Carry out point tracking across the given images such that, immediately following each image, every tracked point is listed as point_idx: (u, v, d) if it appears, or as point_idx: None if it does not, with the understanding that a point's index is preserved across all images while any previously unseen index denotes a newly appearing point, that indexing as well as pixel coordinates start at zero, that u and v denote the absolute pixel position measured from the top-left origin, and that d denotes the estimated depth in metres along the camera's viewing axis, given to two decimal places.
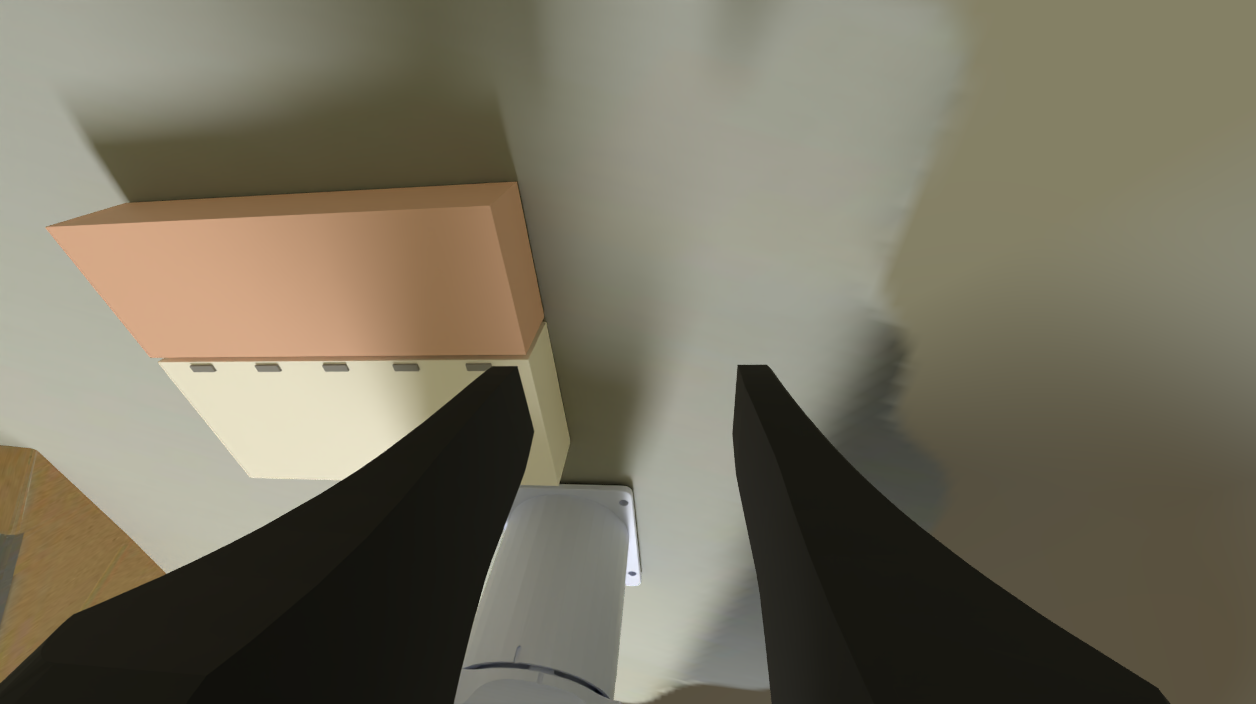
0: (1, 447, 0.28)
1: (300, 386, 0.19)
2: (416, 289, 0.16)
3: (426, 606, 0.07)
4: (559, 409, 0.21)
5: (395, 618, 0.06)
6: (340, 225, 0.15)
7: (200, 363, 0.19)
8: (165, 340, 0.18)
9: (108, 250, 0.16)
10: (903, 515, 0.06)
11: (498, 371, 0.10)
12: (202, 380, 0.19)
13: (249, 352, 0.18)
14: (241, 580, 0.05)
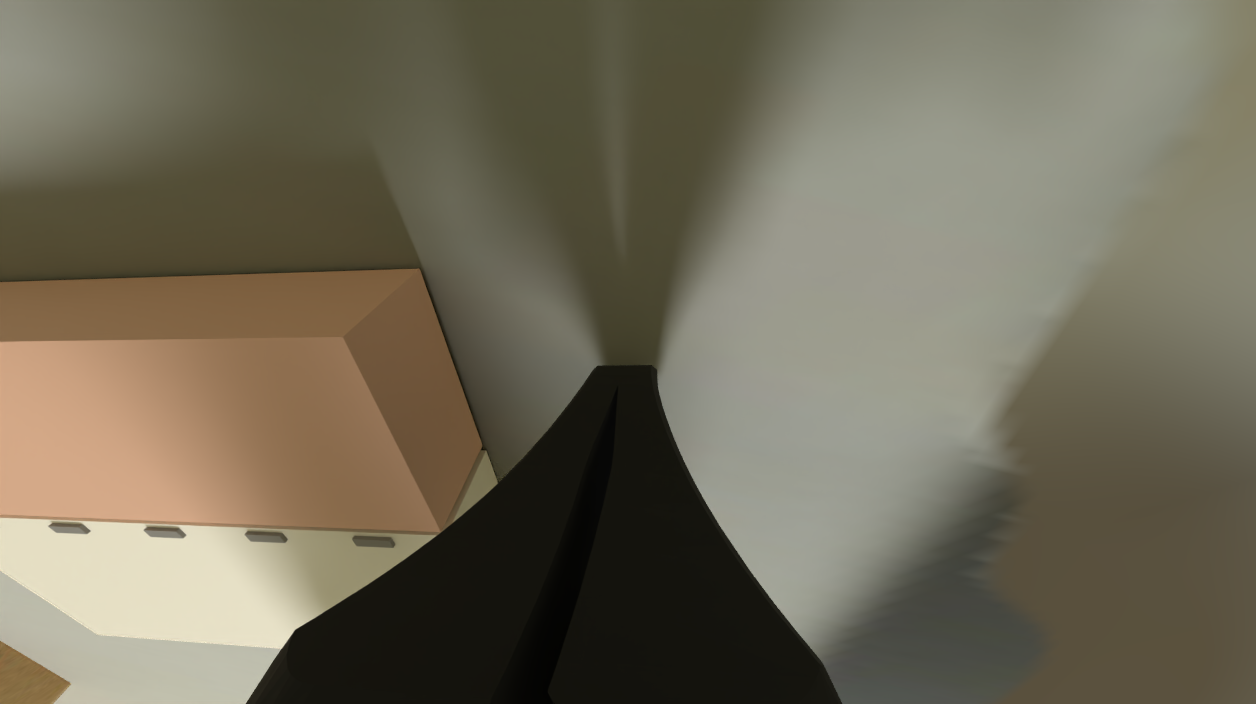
0: None
1: (125, 549, 0.13)
2: (252, 447, 0.10)
3: None
4: None
5: None
6: (101, 357, 0.09)
7: None
8: None
9: None
10: (701, 508, 0.06)
11: (608, 371, 0.10)
12: None
13: (33, 511, 0.12)
14: (453, 594, 0.05)
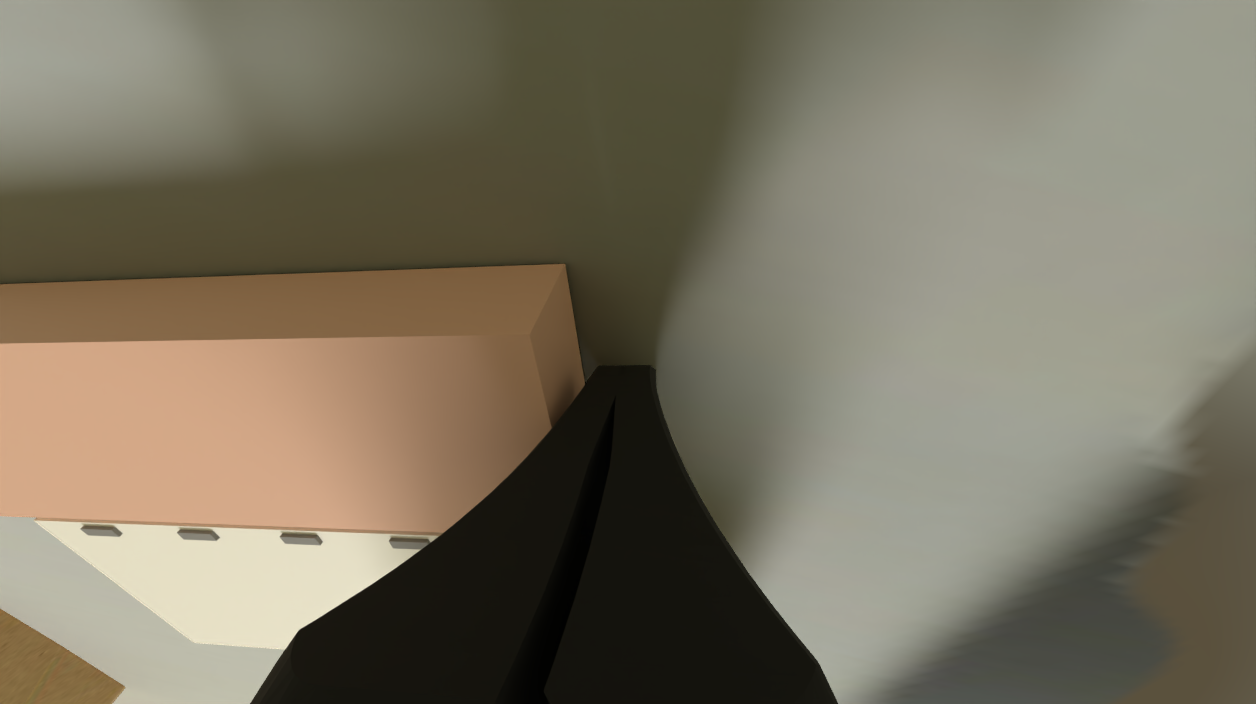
0: None
1: (250, 555, 0.13)
2: (397, 451, 0.09)
3: None
4: None
5: None
6: (258, 358, 0.08)
7: (97, 524, 0.12)
8: (14, 497, 0.12)
9: None
10: (699, 508, 0.06)
11: (610, 371, 0.10)
12: (103, 543, 0.13)
13: (143, 516, 0.12)
14: (456, 594, 0.05)
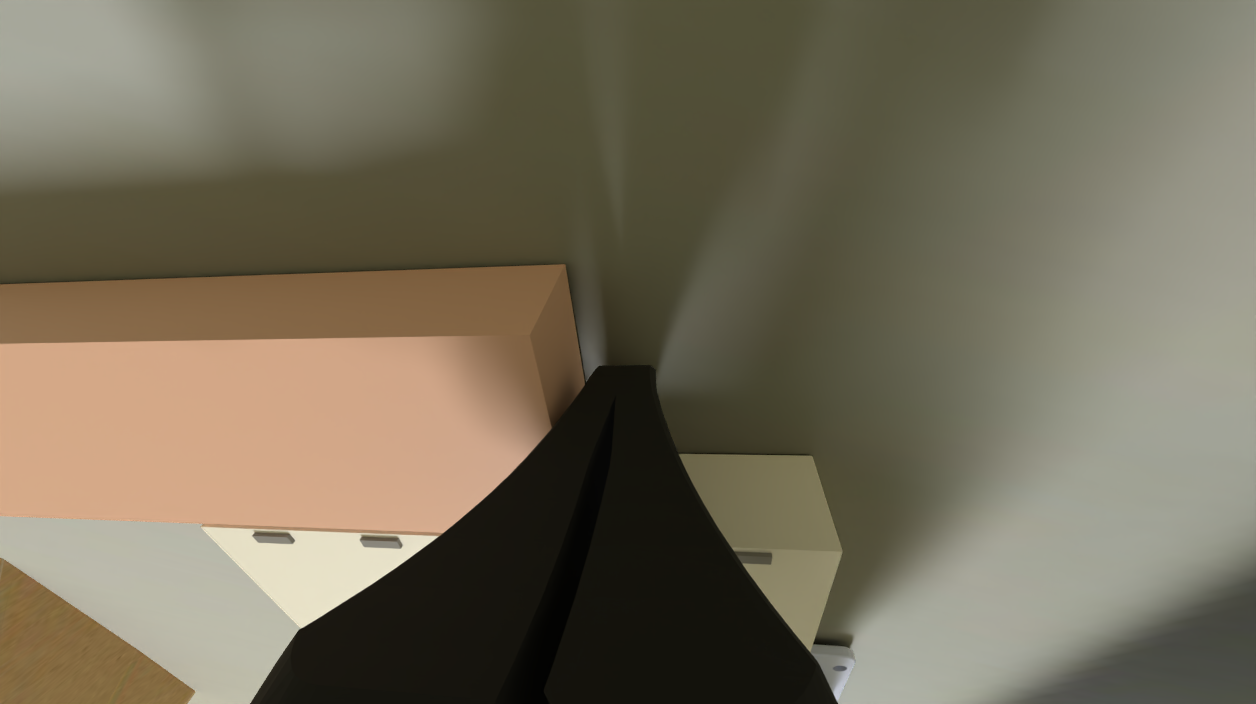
0: None
1: None
2: (397, 451, 0.09)
3: None
4: None
5: None
6: (259, 357, 0.08)
7: (269, 531, 0.12)
8: (14, 497, 0.12)
9: None
10: (699, 508, 0.06)
11: (610, 371, 0.10)
12: (269, 550, 0.12)
13: (143, 516, 0.12)
14: (456, 594, 0.05)
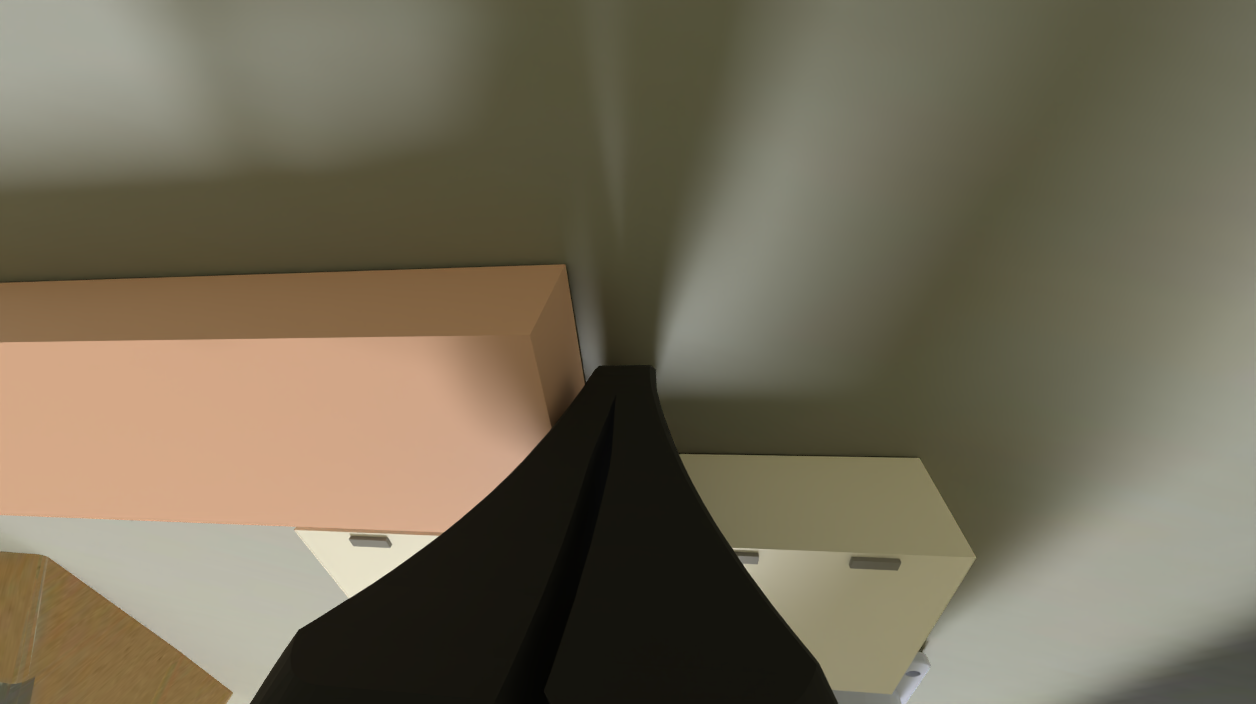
0: (0, 555, 0.20)
1: None
2: (397, 450, 0.09)
3: None
4: None
5: None
6: (259, 357, 0.08)
7: (366, 534, 0.11)
8: (12, 496, 0.12)
9: None
10: (699, 508, 0.06)
11: (609, 371, 0.10)
12: (362, 554, 0.12)
13: (142, 515, 0.12)
14: (456, 594, 0.05)
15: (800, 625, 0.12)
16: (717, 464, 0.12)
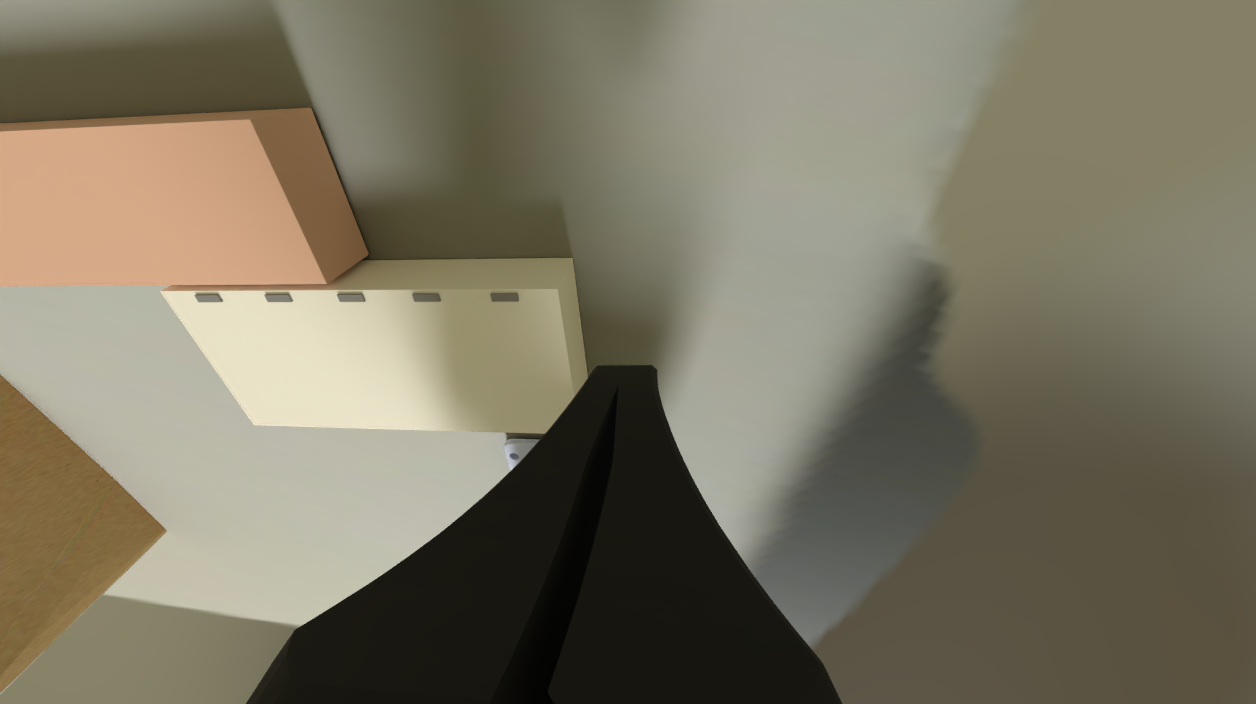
0: None
1: (312, 319, 0.18)
2: (203, 212, 0.16)
3: None
4: (581, 355, 0.21)
5: None
6: (111, 140, 0.15)
7: (206, 292, 0.18)
8: None
9: None
10: (701, 508, 0.06)
11: (608, 370, 0.10)
12: (207, 312, 0.18)
13: (59, 281, 0.18)
14: (452, 594, 0.05)
15: (492, 363, 0.18)
16: (446, 262, 0.19)
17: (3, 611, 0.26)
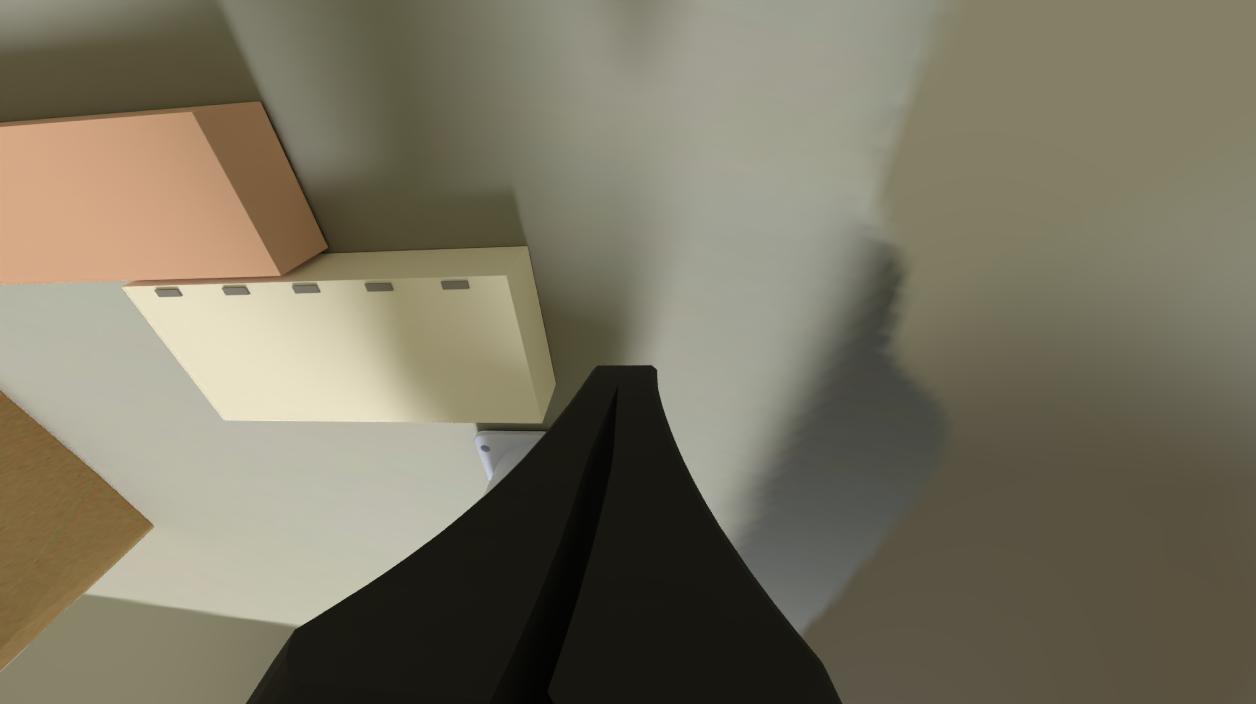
0: None
1: (270, 312, 0.18)
2: (155, 206, 0.16)
3: None
4: (543, 344, 0.21)
5: None
6: (60, 136, 0.15)
7: (165, 287, 0.18)
8: None
9: None
10: (701, 509, 0.06)
11: (608, 371, 0.10)
12: (168, 307, 0.19)
13: (23, 278, 0.18)
14: (454, 593, 0.05)
15: (449, 352, 0.19)
16: (403, 253, 0.19)
17: None
